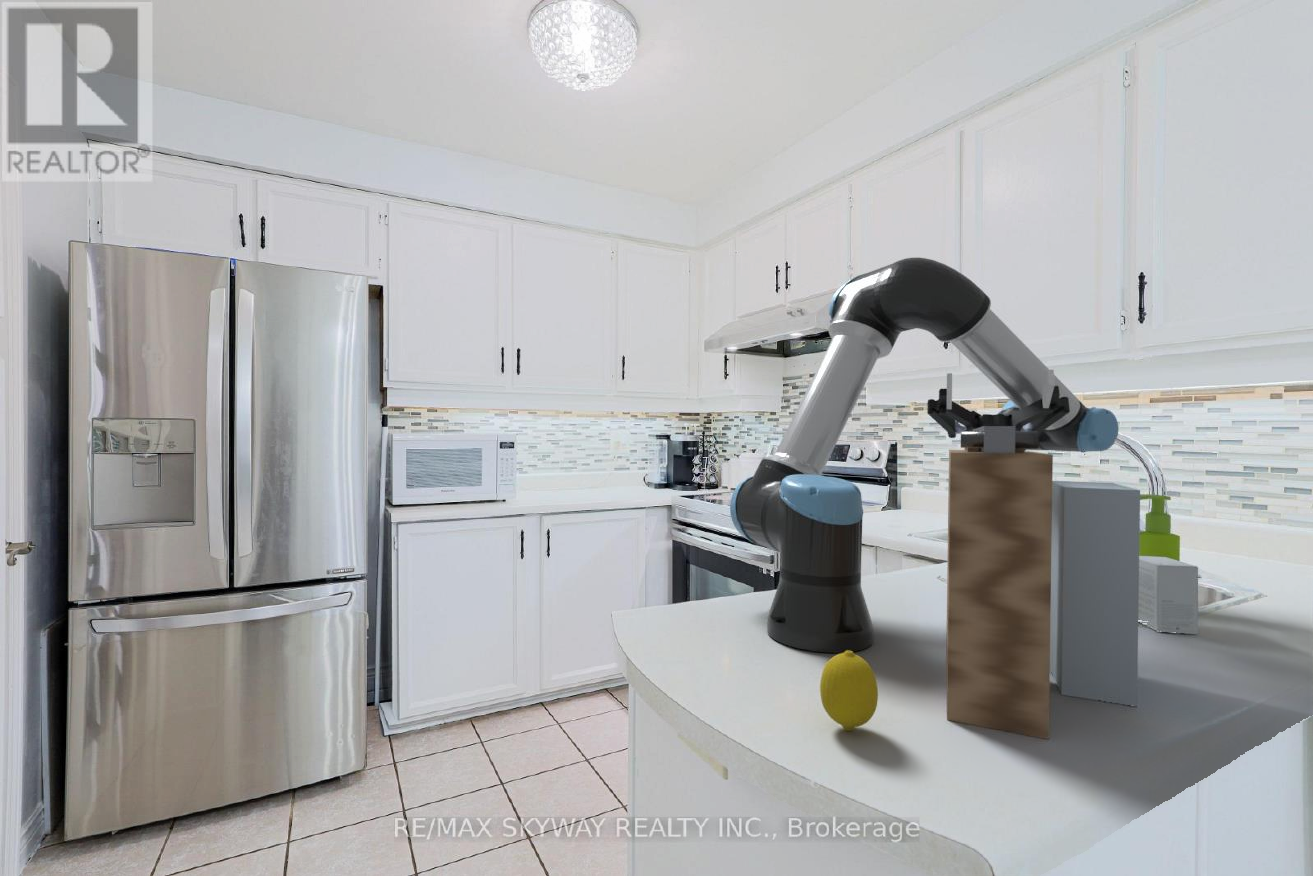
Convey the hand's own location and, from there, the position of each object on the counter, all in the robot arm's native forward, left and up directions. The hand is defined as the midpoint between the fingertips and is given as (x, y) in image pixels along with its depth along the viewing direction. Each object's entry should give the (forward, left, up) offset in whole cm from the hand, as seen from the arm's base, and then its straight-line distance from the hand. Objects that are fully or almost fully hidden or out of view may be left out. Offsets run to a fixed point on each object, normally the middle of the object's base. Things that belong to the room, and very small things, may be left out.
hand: (998, 378), depth 92 cm
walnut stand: (-2, -27, -39) cm, 47 cm away
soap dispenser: (+26, +27, -39) cm, 54 cm away
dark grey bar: (-2, -21, -11) cm, 24 cm away
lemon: (-16, -43, -39) cm, 60 cm away
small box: (+24, +15, -39) cm, 48 cm away
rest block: (+9, -17, -39) cm, 43 cm away
